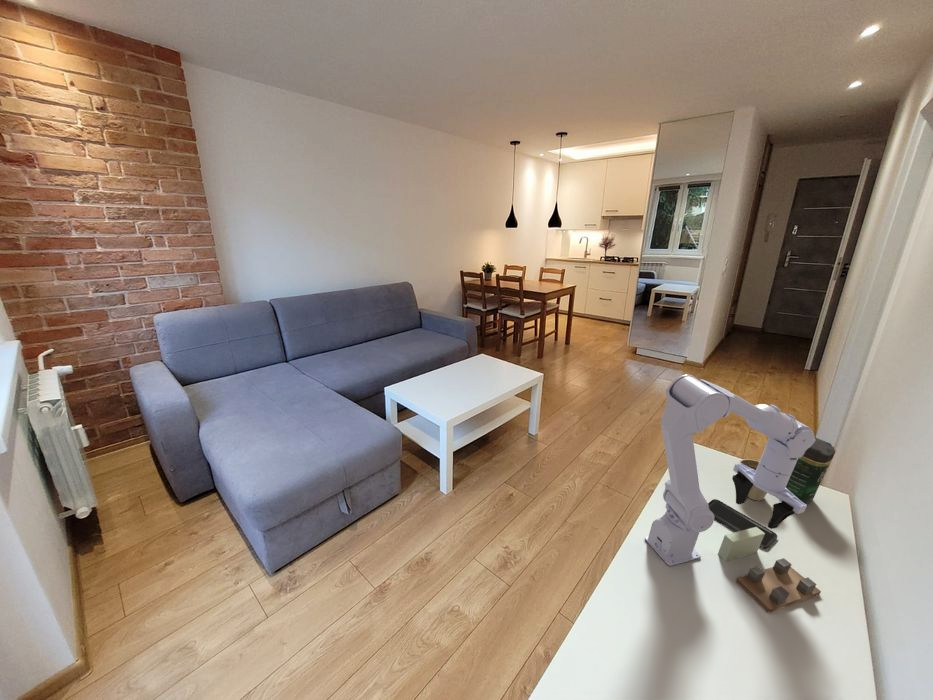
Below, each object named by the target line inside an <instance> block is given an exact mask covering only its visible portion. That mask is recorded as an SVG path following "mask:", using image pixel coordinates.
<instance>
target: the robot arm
mask: <svg viewBox="0 0 933 700" xmlns="http://www.w3.org/2000/svg"><path fill="white" fill-rule="evenodd" d="M665 395H666V404H665V407H664V410H663V412H662V413H663V414H662V417H661V419H660V420H661V421H660V427H661V433H662V439H663V445H664V446H663V447H664V451H665V456H666V462H667V469H668V475H669V480H667V481H665V482H664V491H663V492H662V498H663V500H664V502H665V509H666V511H665V513H664V514H663V515H662V516H661V517H659V518H657V519H655V520H653V521H652V524H651V526H650V529H649V534H648V535H647V536H644V540H645V541H646V542H647V544H649V546H650V547H651V548H652V549H653V550H654V551H655V552H656V554H658V556H659V557H660V558H661V559H662V560H663V561H664V562H665V564H666V565H667V566H669V567H672V566H676V565H680V564H683V563H686V562H687V563H688V562H690V561H694V560H697V559H701V557H702V555H701V554H700V553H699V552H698V551H697V550H696V549H695V547H696V544H697V541H698V537H699V535H700V533H703V532H705V531H707V530H708V529H710V528H711V527H712V526H713V523H714V522H715V519H714V514H713V513H712V512H711V511H710V510H709V505H708V503H709V502H708V501H707V499H706V498H705V497H704V494H703V493H702V491H701V487H700V481H699V473H698V468H697V467H698V466H697V460H696V453H695V444H694V436H693V434H695V435H696V434H697V435H698V434H700V433H701V432H703V431H704V430H706V429H707V428H709V427H710V426H712V425H713V424H715V423H716V422H718V421H719V420H720V419H722V418H727V417H728V416H729V415H730V414H732V413H733V414H735V415H736V416H739V417H741V418H743V419H745V422H746V425H748V426H749V427H750V428H751V429H753V430H755V431H757V432H759V433H761V434H763V435H765V436H767V437H768V438H767V441H766V443H765V446H764V449H763V452H762V454H761V457H760V458H759V460H758V461H759V464H758V466H757V469H756V470H754V469H751V468H749V467H747V466H745V465H744V464H742V463H739V462H738V463H735V464H734V466H733V469H732V472H735V473H736V474H735V475H732V481H733V483H734V484H733V485H734V487H735V504H737V505H739V506H740V505H743V504H745V503H746V501H747V499H748V498H749V497H748V494H749V491H750V490H751V488H752V486H753V485H755V486H756V487H758V488H759V489H761V490H763V491H765V492H767V494H769V495H771V496H772V497H774V498H776V499H778V500H779V501H781V502H776V503H774V504H772V514H771V517H770V519H769V522H768V524H767V528H768V529H769V530H773V529H777V528H778V527H779V526H780V524H781V523H782V522H783V521H784V520H785V521H786V519H787V518H789V517H790V516H792V515H794V514H795V513H796V514H797V515H798V514H803V513H805V511H806V509H807V507H808V504H807V505H806V504H805V503H803V502H802V501H800V500H799V499H798V498H797V497H796V496H795V495H794V494H792V493H791V492H790V491H789V490H788V489H787V488H786V485H787V483H788V481H789V478H790V476H791V474H792V472H793V469H794V467H795V465H796V462H797V460H798V458H801V457H802V456H803V455H804V453H805V451H806V450H807V449H808V448H809V447H811V446H812V445H813V443H814V442H815V439H814V437H815V433H814V432H813V429H812V427H810V426H808V425H806V424H804V423H803V422H801V421H799V420H797V419H796V416H793V414H790V413H787V414H786V413H785V412H781V411H782V409H781V408H779V407H778V406H777V405H774V404H772V403H771V404H770V405H768V404H766V403H764V404H763V403H759V404H758V403H757V404H756V405H754V404H753V403H751V402H749V401H747V400H745V399H744V398H742V397H741V396H738V395H736V394H734V393H733V392H731V391H730V390H727V388H723V387H722V386H720V385H717V384H715V383H713V382H711V381H707V380H705V379H702V378H699V379H698V378H697V377H696V376H694V375H692V374H682V375H680V376H678V377H676V378H675V379H674V380H673V381H672V382H671V383H670V384H669V386H667V388H666V389H665Z"/></svg>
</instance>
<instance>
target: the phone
mask: <svg viewBox="0 0 933 700" xmlns="http://www.w3.org/2000/svg"><path fill="white" fill-rule="evenodd" d="M707 503H708V505H709V510H710V511H711V512H712V513H713V514H714V521H717V522H719V523H720V524H721V525H723V526H725V528H726V527H727V528H728V529H730V530H731V531H733V533H735V532H738V531H742V530H746V529H750V528H754V527H757V528H759V529H760V530H761V531H763V532H764V533H765V535H764V537H763V539H762V542H761V544H760V546H759V548H760V549H762V550H766V551H767V550H768V549H769V548H771V546H772V545H773V544H774V542H775V541H777V539H778V534H777V533H776V532H775V531H772V529H770V528H769V527H766V526H764V525H762V524H761V523H759V522H758V521H756V520H754V519H752V518H750V517H749V516H747V515H745V514H743V513H742V512H740V511H739V510H737V509H734V508H733V507H731V506H729V505H728V504H726V503H724V502H723V501H721V500H719V499H716V498H712V500H709V502H707Z"/></svg>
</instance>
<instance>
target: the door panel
mask: <svg viewBox="0 0 933 700" xmlns="http://www.w3.org/2000/svg"><path fill="white" fill-rule="evenodd" d="M764 535H765V533H764V532H763V531H761V530H760V529H759V528H757V527H754V528H750V529H746V530H742V531H738V532H732V533H731V532H730V533H728V534H725V535H724V537H723V539H722V540H721V545H720V547H719V549H718V552H717V556H719V557H720V558H721V559H723V561H724V562H728V561H731V560H734V559H735V560H736V559H738V558H741V557H745V556H749V555H752V554H756V553H758V550H759V548H760V547H759V546H760V544H761V542H762V539H763V537H764Z"/></svg>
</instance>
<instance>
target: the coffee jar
mask: <svg viewBox="0 0 933 700" xmlns="http://www.w3.org/2000/svg"><path fill="white" fill-rule="evenodd" d="M814 439H815V442H814V443H813V445H812V446H811V447H809V448H808V449H807V450H806V451H805V453H804V455H803V456H802V457H801V458H798V460H797V462H796V465H795V467H794V469H793V472H792V474H791V476H790V478H789V481H788V483H787V485H786V488H787V489H788V490H789V491H790V492H791V493H792V494H794V495H795V496H796V497H797V498H798V499H799V500H800V501H802V502H803V503H805V504H806V505H807V506H808V505H809V504H811V502H813V500H814V498H815V496H816V494H817V492H818V490H819V488H820V486H821V484H822V481H823V479H824V477H825V474H826V473H827V471H828V469H829V466H831V465H830V464H831V463H832V460H833V458H834V456H835V454H836V449H835V447H834V446H833V445H832V443H830V442H827V441H826V440H823V439H820V438H818V437H814Z"/></svg>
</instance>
